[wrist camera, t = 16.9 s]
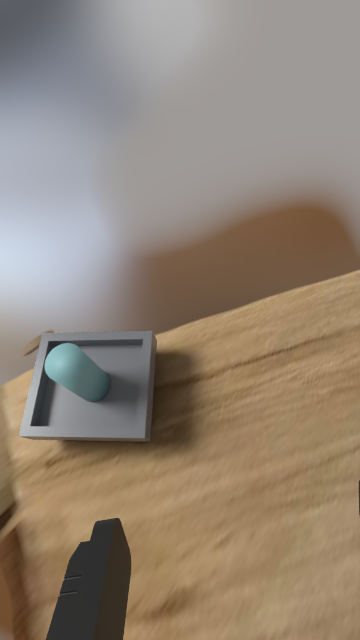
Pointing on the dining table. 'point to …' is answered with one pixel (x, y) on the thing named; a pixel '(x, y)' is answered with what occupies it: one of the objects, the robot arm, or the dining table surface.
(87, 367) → the teal cylinder
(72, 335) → the grey square tray
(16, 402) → the dining table surface
